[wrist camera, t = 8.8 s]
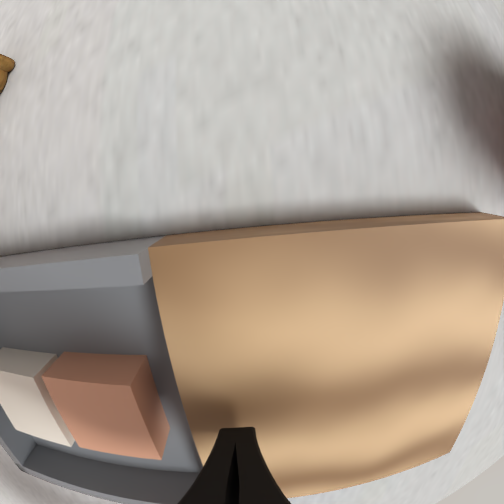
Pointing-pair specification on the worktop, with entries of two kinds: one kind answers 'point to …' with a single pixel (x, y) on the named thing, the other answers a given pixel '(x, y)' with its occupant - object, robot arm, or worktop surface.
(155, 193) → the worktop surface
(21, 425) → the tile
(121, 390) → the tile
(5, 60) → the tap handle
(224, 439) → the robot arm
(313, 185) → the worktop surface
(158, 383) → the tray
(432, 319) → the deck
